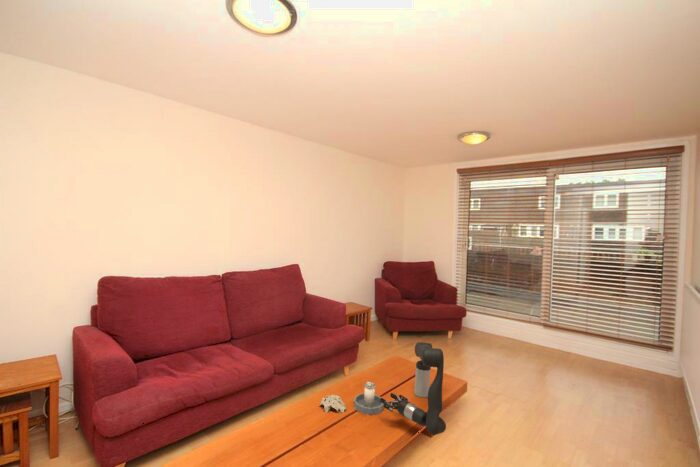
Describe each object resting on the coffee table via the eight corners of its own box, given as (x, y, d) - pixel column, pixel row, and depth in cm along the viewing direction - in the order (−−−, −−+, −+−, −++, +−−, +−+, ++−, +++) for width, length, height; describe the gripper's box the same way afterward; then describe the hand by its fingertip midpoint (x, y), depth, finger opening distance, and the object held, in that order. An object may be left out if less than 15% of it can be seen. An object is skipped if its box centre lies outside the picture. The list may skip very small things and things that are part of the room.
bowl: (364, 395, 206) (365, 390, 206) (388, 406, 195) (388, 400, 195) (348, 406, 192) (348, 400, 192) (372, 418, 182) (372, 412, 182)
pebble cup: (367, 401, 198) (368, 378, 198) (376, 404, 194) (377, 381, 194) (361, 405, 193) (362, 382, 193) (370, 409, 189) (371, 385, 189)
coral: (347, 410, 188) (347, 401, 188) (328, 416, 182) (329, 407, 182) (334, 398, 201) (334, 389, 201) (316, 403, 195) (317, 394, 195)
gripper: (417, 399, 178) (394, 386, 190) (400, 407, 168) (377, 394, 180) (416, 412, 178) (393, 399, 190) (399, 422, 169) (376, 407, 181)
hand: (385, 397), depth 185 cm, fingers open, 8 cm apart
